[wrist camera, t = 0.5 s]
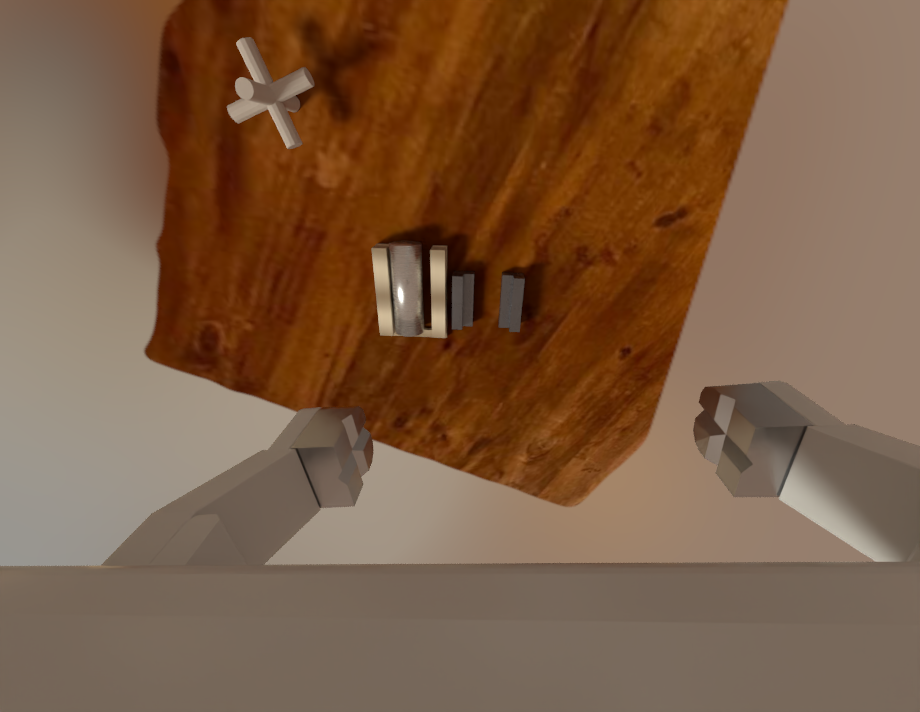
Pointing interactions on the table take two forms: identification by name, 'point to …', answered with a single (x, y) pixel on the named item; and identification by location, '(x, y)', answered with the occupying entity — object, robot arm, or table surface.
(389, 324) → the beige u-shaped bracket
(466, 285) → the dark blocks
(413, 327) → the axle
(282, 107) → the pipe connector
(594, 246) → the table surface
